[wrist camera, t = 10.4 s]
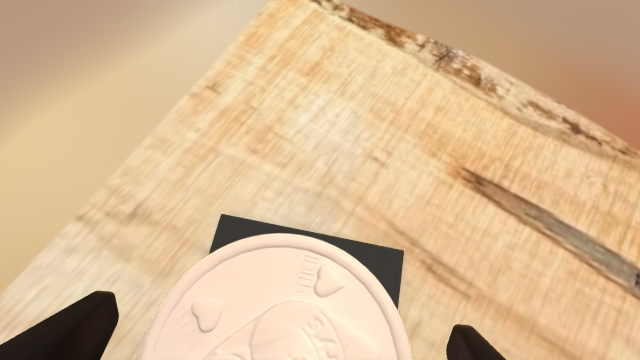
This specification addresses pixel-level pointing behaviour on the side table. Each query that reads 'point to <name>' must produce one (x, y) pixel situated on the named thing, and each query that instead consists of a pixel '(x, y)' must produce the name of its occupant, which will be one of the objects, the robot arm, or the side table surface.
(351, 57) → the side table surface
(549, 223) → the side table surface
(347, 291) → the smoothie
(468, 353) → the robot arm
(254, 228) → the coaster
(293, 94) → the side table surface
